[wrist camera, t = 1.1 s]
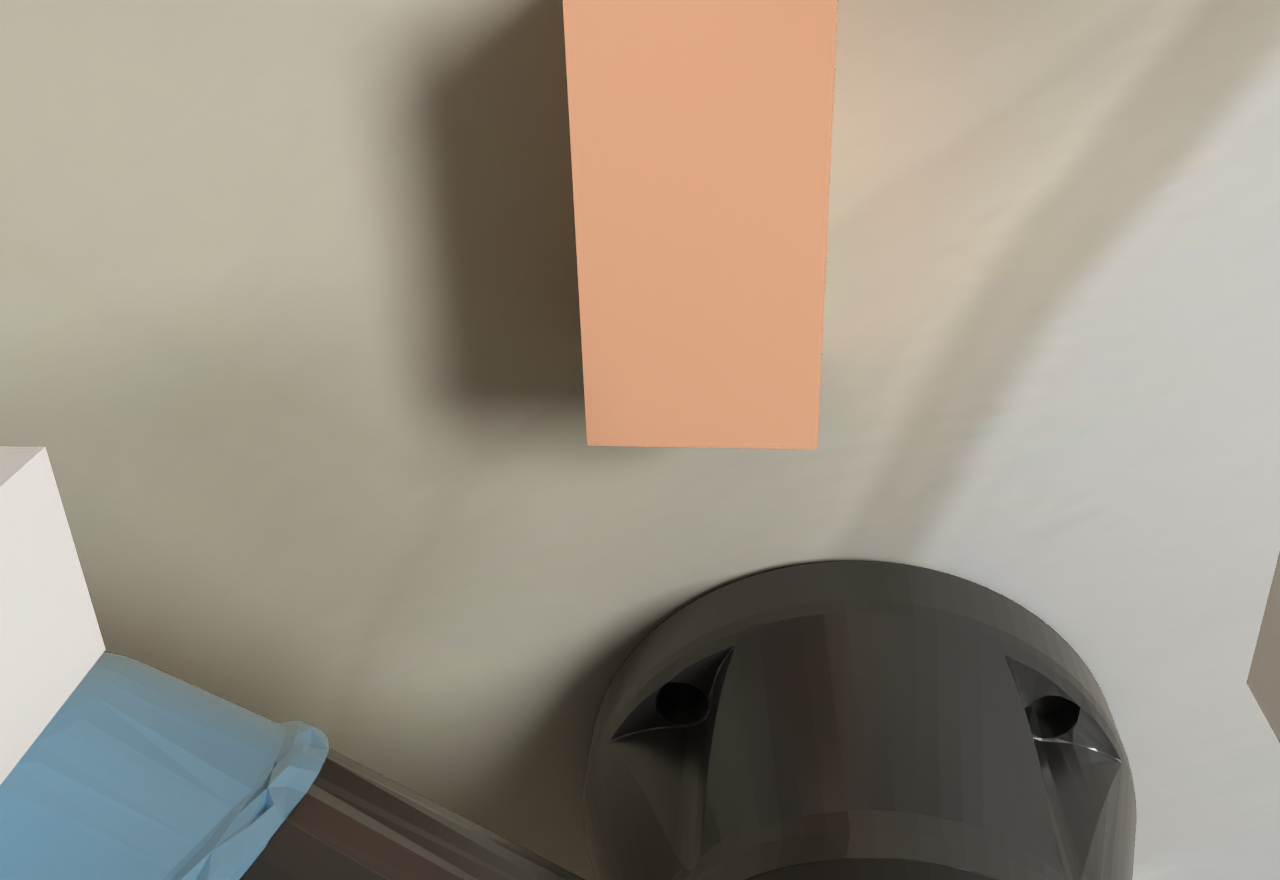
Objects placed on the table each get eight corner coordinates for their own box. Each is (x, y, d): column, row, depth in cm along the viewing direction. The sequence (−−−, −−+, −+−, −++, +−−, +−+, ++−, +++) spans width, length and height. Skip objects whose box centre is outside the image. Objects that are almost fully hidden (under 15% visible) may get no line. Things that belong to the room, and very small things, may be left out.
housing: (809, 352, 29) (817, 449, 25) (612, 350, 30) (587, 445, 25) (825, -55, 25) (839, -25, 21) (596, -50, 25) (561, -20, 21)
